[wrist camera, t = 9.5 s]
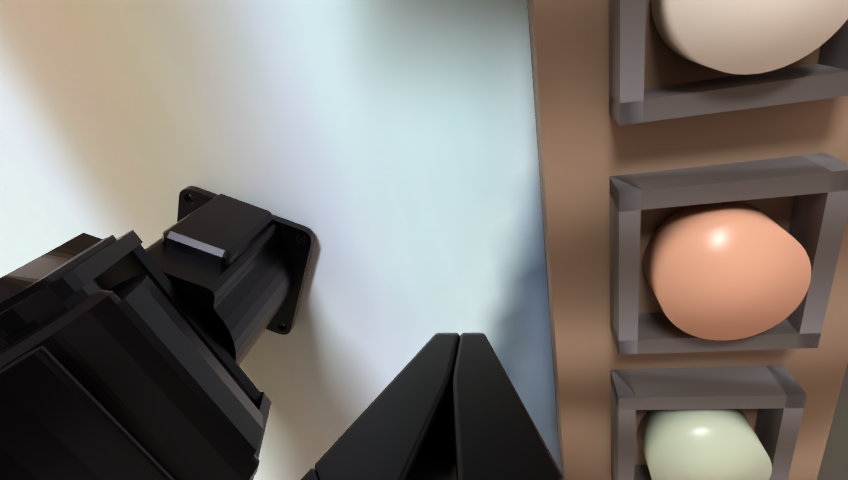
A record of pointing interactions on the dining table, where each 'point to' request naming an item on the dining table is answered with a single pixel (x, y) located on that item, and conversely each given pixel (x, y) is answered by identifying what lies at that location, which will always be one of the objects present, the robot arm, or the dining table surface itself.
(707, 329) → the button terracotta
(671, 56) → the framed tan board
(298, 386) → the dining table surface
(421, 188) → the dining table surface
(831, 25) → the button cream
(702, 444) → the button sage
